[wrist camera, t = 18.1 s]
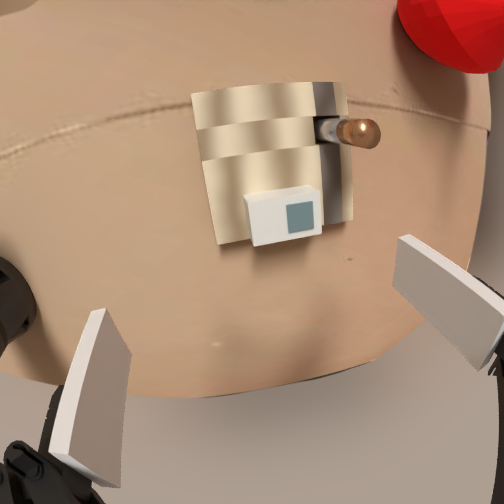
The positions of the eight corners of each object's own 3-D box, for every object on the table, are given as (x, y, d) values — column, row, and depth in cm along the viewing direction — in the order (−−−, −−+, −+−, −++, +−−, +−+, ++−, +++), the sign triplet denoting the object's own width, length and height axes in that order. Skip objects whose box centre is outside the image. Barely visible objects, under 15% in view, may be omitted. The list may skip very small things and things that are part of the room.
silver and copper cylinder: (308, 140, 33) (356, 149, 22) (306, 119, 32) (354, 119, 21) (328, 139, 33) (381, 148, 23) (326, 118, 32) (379, 119, 21)
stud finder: (248, 234, 34) (254, 247, 31) (242, 195, 32) (247, 203, 28) (311, 223, 35) (322, 234, 31) (308, 184, 32) (320, 192, 29)
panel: (216, 235, 36) (217, 245, 34) (191, 97, 28) (190, 93, 26) (342, 212, 38) (353, 220, 35) (333, 85, 30) (345, 82, 27)
